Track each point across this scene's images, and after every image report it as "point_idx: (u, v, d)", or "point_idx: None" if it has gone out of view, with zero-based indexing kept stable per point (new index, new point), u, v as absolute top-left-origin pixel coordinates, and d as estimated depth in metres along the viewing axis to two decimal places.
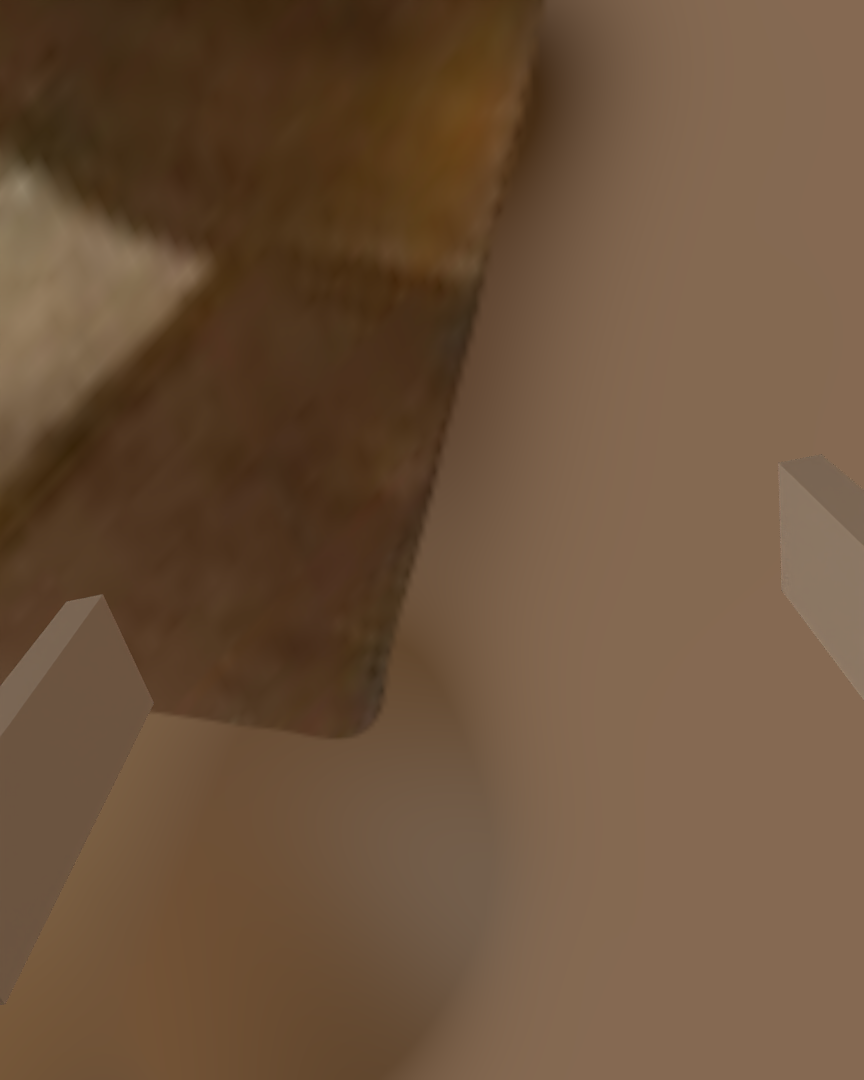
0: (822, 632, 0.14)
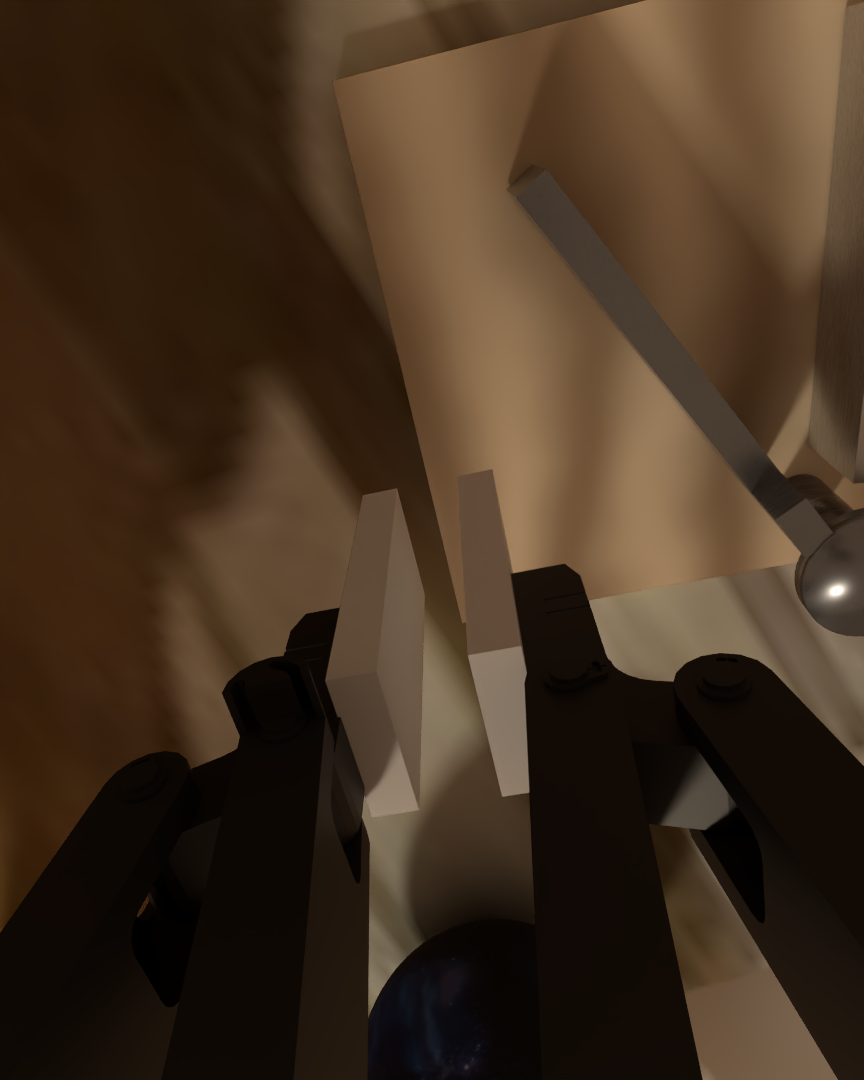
0: None
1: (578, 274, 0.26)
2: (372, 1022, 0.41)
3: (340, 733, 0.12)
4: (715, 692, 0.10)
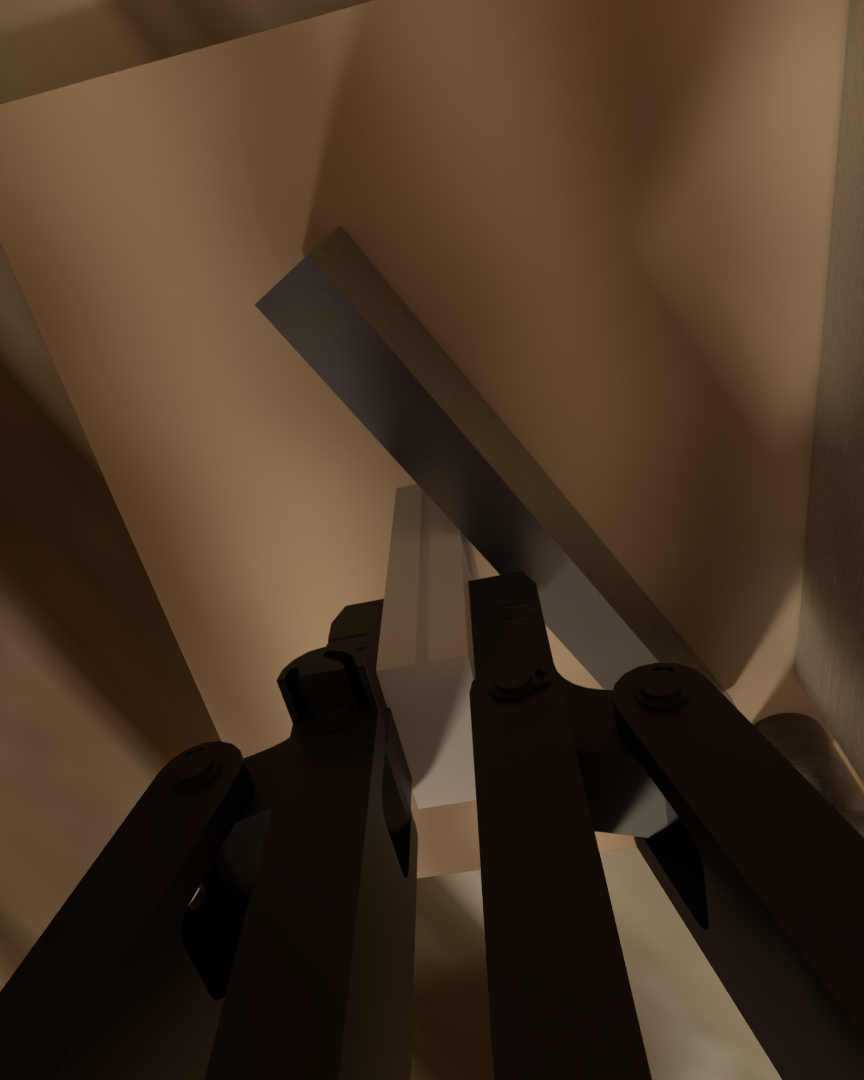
0: None
1: (385, 445, 0.14)
2: None
3: (390, 723, 0.11)
4: (653, 704, 0.10)
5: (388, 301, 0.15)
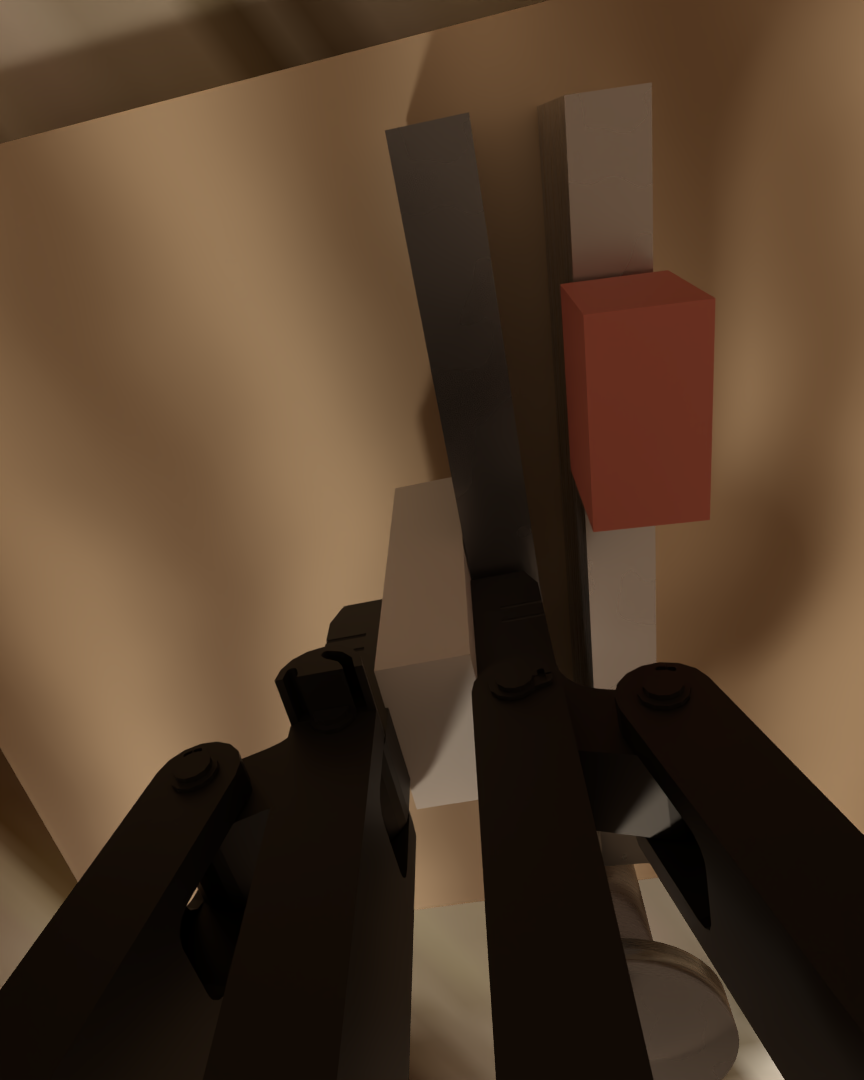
0: None
1: (429, 346, 0.13)
2: None
3: (388, 723, 0.11)
4: (656, 703, 0.10)
5: None
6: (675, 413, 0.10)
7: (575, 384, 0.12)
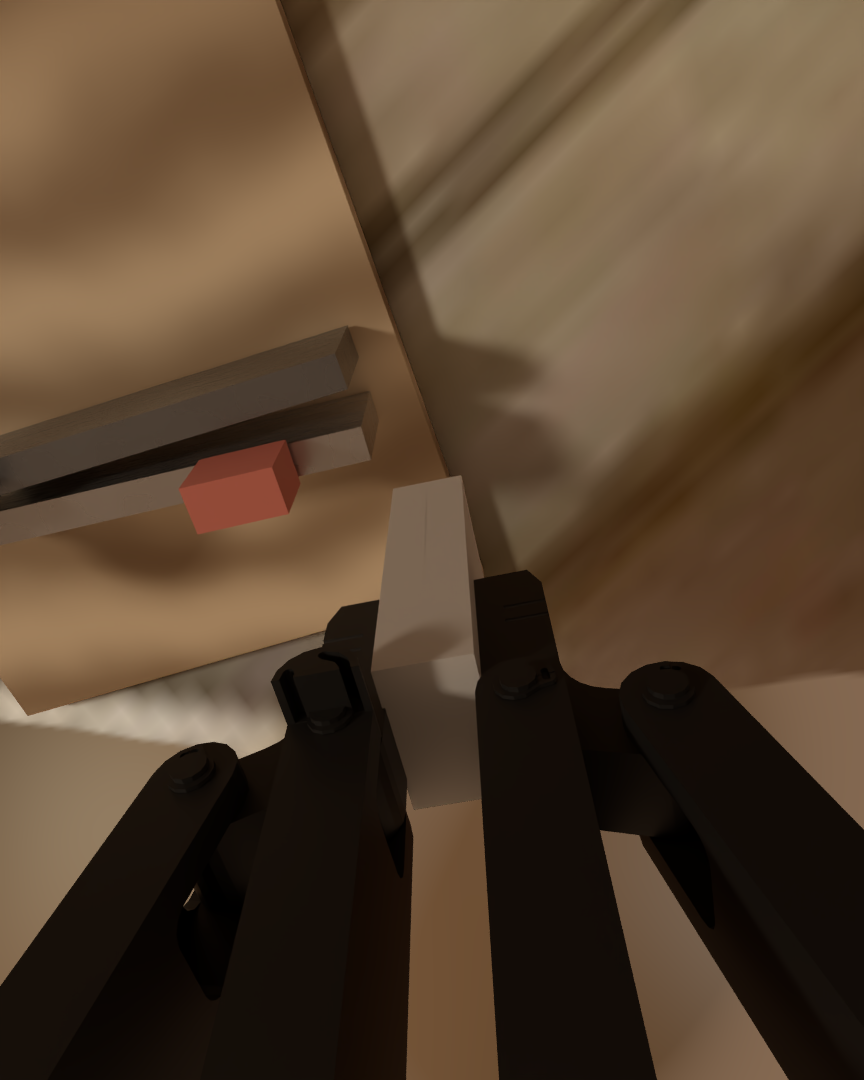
0: None
1: (243, 382, 0.26)
2: None
3: (385, 724, 0.11)
4: (660, 702, 0.10)
5: None
6: (240, 510, 0.25)
7: (242, 461, 0.25)
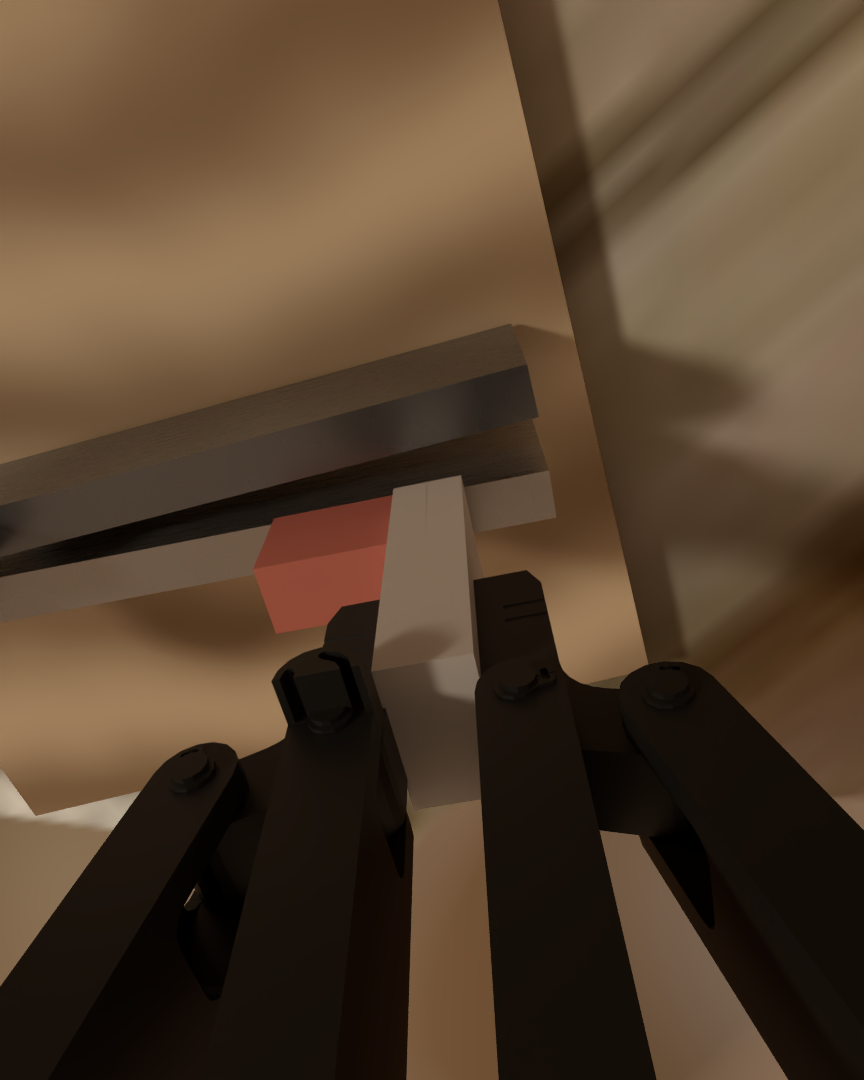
0: None
1: (387, 403, 0.17)
2: None
3: (386, 724, 0.11)
4: (660, 701, 0.10)
5: None
6: (342, 601, 0.17)
7: (344, 527, 0.17)
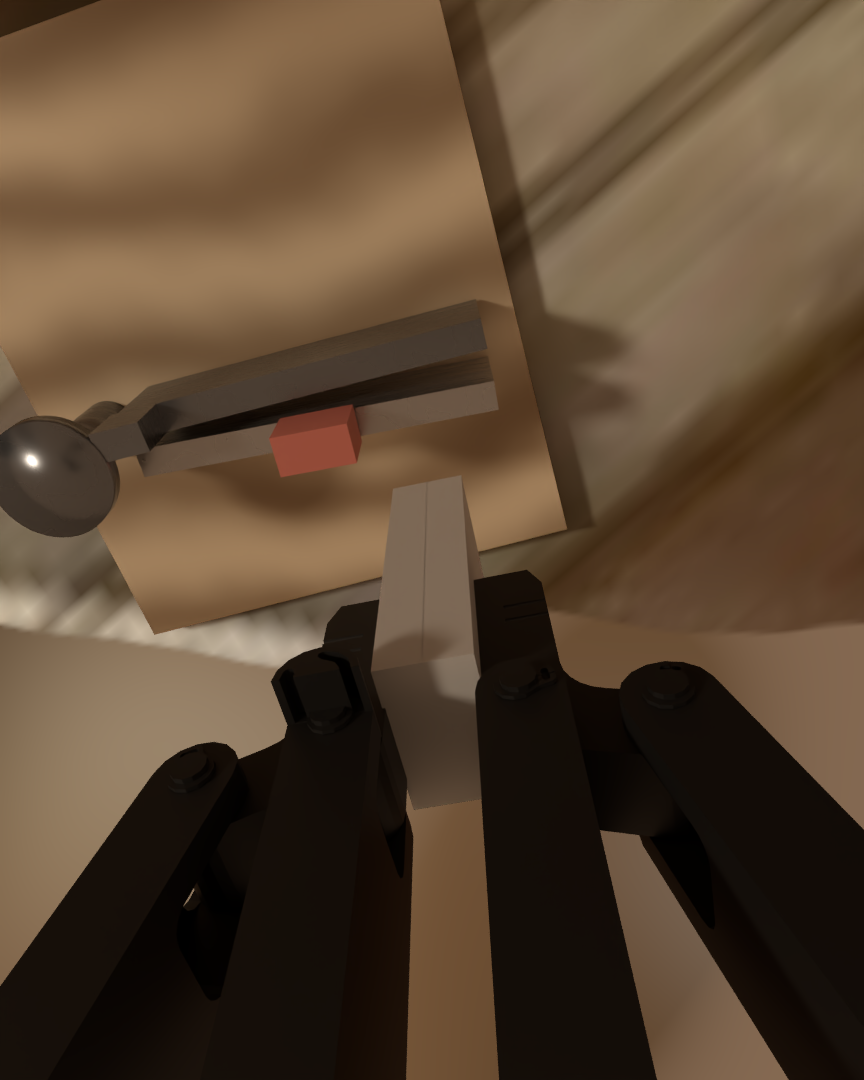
0: None
1: (402, 339, 0.31)
2: None
3: (385, 724, 0.11)
4: (660, 702, 0.10)
5: None
6: (317, 458, 0.31)
7: (319, 419, 0.31)
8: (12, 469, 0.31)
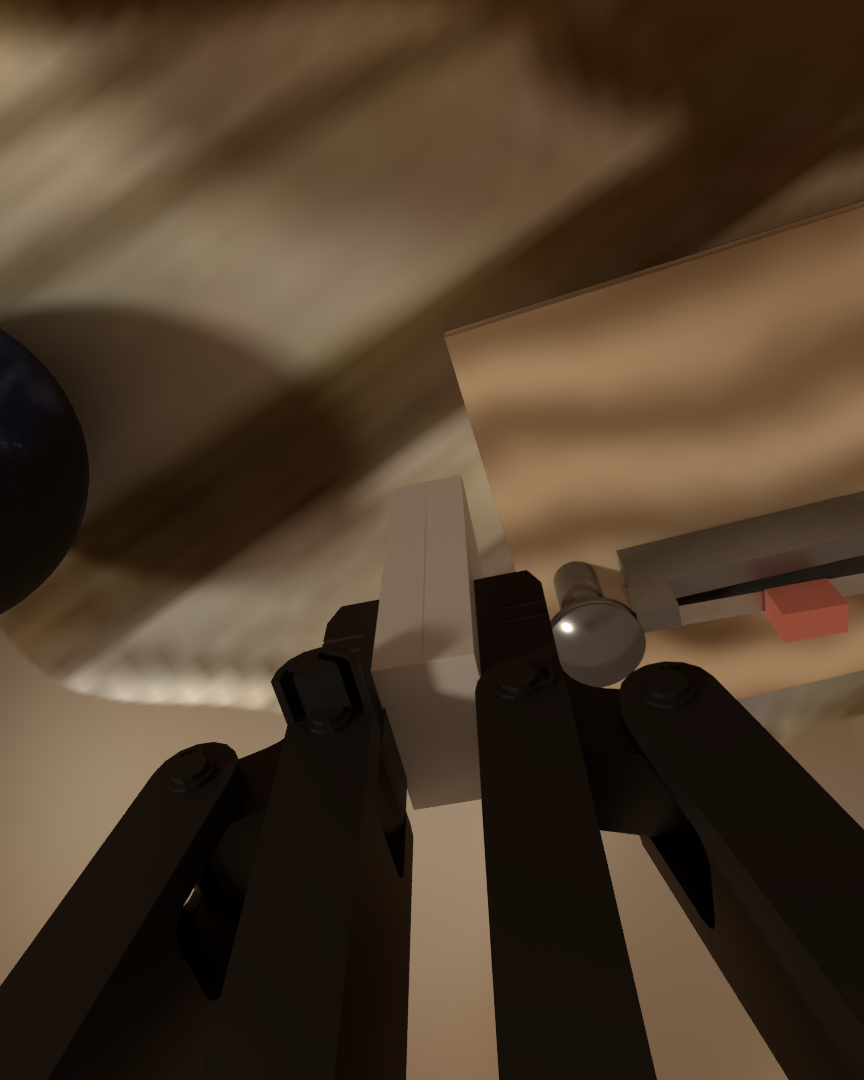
0: None
1: None
2: None
3: (385, 724, 0.11)
4: (660, 701, 0.10)
5: None
6: (817, 628, 0.38)
7: (811, 595, 0.39)
8: (568, 639, 0.39)
